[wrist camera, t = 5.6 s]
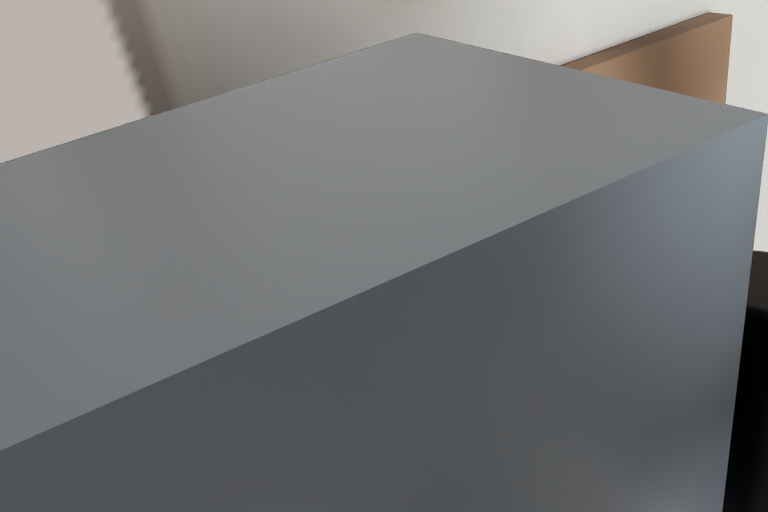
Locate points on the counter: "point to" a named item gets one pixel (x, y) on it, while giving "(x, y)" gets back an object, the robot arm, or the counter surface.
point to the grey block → (382, 295)
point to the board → (672, 58)
